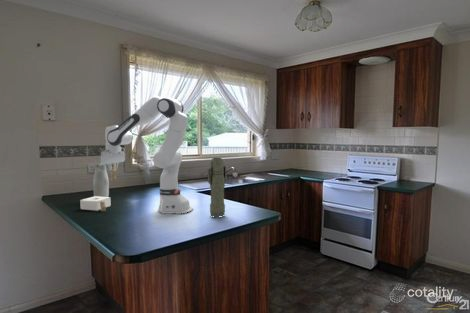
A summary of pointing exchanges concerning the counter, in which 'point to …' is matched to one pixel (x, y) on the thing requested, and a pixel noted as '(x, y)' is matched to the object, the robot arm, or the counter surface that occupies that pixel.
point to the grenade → (217, 186)
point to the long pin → (113, 172)
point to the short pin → (103, 206)
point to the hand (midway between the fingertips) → (113, 169)
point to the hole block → (94, 203)
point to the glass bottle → (101, 181)
